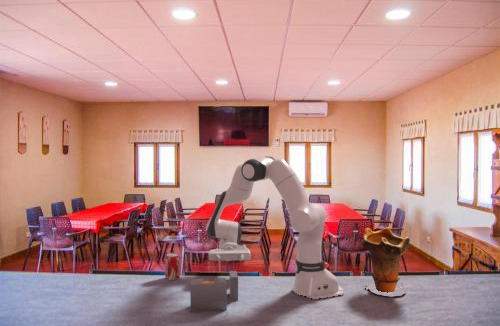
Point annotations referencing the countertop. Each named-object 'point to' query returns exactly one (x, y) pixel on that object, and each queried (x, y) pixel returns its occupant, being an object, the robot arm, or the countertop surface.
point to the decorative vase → (385, 256)
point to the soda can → (172, 266)
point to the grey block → (233, 286)
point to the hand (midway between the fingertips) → (230, 259)
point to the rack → (208, 295)
